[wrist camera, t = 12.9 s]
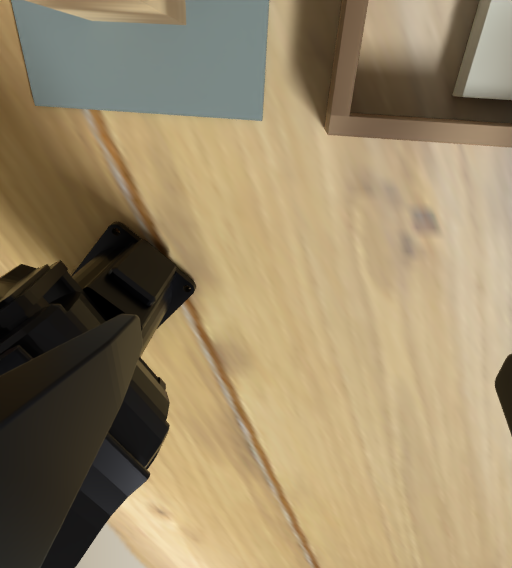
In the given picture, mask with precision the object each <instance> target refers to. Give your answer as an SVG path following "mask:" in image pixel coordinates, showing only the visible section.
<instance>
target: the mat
mask: <svg viewBox="0 0 512 568" xmlns="http://www.w3.org/2000/svg"><path fill="white" fill-rule="evenodd" d="M11 2H12V7H13V11H14V16H15V20H16V24H17V29H18V33H19V38H20V42H21V46H22V51H23V55H24V59H25V64H26V68H27V73H28V77H29V81H30V86H31V90H32V95H33V99H34V103H35V106H49V107H64V108H79V109H94V110H108V111H123V112H138V113H153V114H168V115H183V116H198V117H213V118H228V119H242V120H257V121H262V118H263V101H264V83H265V65H266V47H267V29H268V12H269V0H185V3H186V25H170V24H149V23H127V22H105V21H91V20H87V19H84V18H81V17H78V16H74V15H71V14H68V13H64V12H61V11H58V10H55V9H51V8H48V7H45V6H41V5H38V4H35V3H32V2H28V1H25V0H11Z"/></svg>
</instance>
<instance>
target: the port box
mask: <svg viewBox="0 0 512 568" xmlns="http://www.w3.org/2000/svg"><path fill="white" fill-rule="evenodd" d="M367 6H368V0H342V1H341V9H340V16H339V24H338V31H337V38H336V46H335V53H334V60H333V68H332V75H331V82H330V90H329V97H328V104H327V112H326V119H325V126H324V129H325V131H326V132H327V134H328V135H338V136H353V137H367V138H382V139H396V140H411V141H425V142H440V143H454V144H469V145H483V146H498V147H512V123H498V122H483V121H468V120H452V119H437V118H421V117H406V116H391V115H375V114H360V113H350V108H351V102H352V96H353V90H354V84H355V78H356V72H357V66H358V60H359V54H360V48H361V42H362V36H363V30H364V24H365V18H366V12H367ZM452 96H458V97H472V98H489V99H505V100H512V0H480V1H479V4H478V8H477V11H476V15H475V18H474V22H473V25H472V29H471V32H470V36H469V39H468V43H467V46H466V50H465V53H464V57H463V60H462V63H461V67H460V70H459V74H458V77H457V81H456V84H455V88H454V91H453V95H452Z"/></svg>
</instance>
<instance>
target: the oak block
mask: <svg viewBox="0 0 512 568" xmlns="http://www.w3.org/2000/svg"><path fill="white" fill-rule="evenodd" d="M25 1H28V2H32V3H35V4H38V5H41V6H45V7H48V8H51V9H55V10H58V11H61V12H64V13H68V14H71V15H74V16H78V17H81V18H84V19H87V20H91V21H105V22H127V23H149V24H170V25H186V3H185V0H25Z"/></svg>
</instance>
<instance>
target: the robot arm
mask: <svg viewBox="0 0 512 568" xmlns="http://www.w3.org/2000/svg"><path fill="white" fill-rule="evenodd" d="M115 228H117V229H119V231H120V233H117V232H116V231H115ZM67 270H68V268H67V267H66V266H65V265H64V264H63V262H62V261H61V260H60V261H58V262H56V263H55V264H53V265H51V266H48V264H46V265H44V266H42V267H40V268H39V267H38V268H33V267H30V266H26V265H23V264H21V265H19V266H17V267H16V268H14V269H12V270H11V271H9V272H8V273H6V274H5V275H3V276H2V277H0V568H75V567H76V566H77V564H78V563H79V561H80V560H81V558H82V557H83V555H84V554H85V552H86V551H87V550H88V548H89V546H90V545H91V544H92V542H93V541H94V539H95V538H96V536H97V535H98V533H99V532H100V530H101V529H102V528H103V526H104V525H105V523H106V522H107V521H108V519H109V518H110V517H111V515H112V514H113V513H114V512H115V511H116V510H117V509H118V507H119V506H120V505H121V504H122V503H123V502H124V501H125V500H126V498H127V497H128V496H129V495H131V494H132V493H133V492H134V491H135V490H136V489H138V488H139V487H140V486H141V485H142V484H143V483H144V482H146V481H147V480H148V478H149V476H150V472H149V471H148V470H147V469H148V468H149V466H150V465H151V464H152V462H153V461H154V459H155V458H156V456H157V454H158V452H159V450H160V448H161V446H162V444H163V442H164V440H165V438H166V436H167V434H168V430H169V423H168V422H167V421H166V419H167V415H168V409H169V403H170V402H169V399H168V395H167V392H166V391H165V389H166V384H165V383H164V382H163V380H162V379H161V378H160V377H157V376H156V375H155V374H154V373H153V372H152V370H151V369H150V368H149V367H148V366H147V364H146V363H145V362H144V361H143V360H142V359H141V355H142V353H143V352H144V350H145V348H146V346H147V345H148V343H149V341H150V339H151V338H152V336H153V334H154V332H155V331H156V329H157V328H158V327H159V326H160V325H161V324H162V323H163V322H164V321H165V320H167V319H168V318H169V317H170V316H171V315H172V314H173V313H174V312H175V311H176V310H177V309H178V308H179V307H180V306H181V305H182V304H183V303H184V302H185V301H186V300H187V299H188V298H189V297H190V296H191V295H192V294H193V293H194V291H195V289H196V284H195V283H194V282H193V281H192V280H191V279H190V278H189V277H187V276H186V275H185V274H184V273H183V272H181V271H180V270H179V269H178V268H176V265H175V264H174V263H172V262H171V261H170V260H169V259H168V258H166V257H165V256H164V255H163V254H161V253H160V252H159V251H158V250H157V249H155V248H154V247H153V246H152V245H150V244H149V243H148V242H147V241H145V240H142V239H141V238H140V237H138V236H137V235H136V234H135V233H133V232H132V231H131V230H130V229H129V228H127V227H126V226H125V225H124V224H122V223H120V222H114V223H113V224H111V225H110V226H109V227H108V228H107V230H106V231H105V232H104V234H103V235H102V236H101V238H100V239H99V240H98V242H97V243H96V244H95V246H94V247H93V248H92V250H91V251H90V252H89V254H88V255H87V256H86V258H85V259H84V260H83V262H82V263H81V264H80V266H79V267H78V268H77V269H76V271H75V272H74V273H73V275H72V276H71V275H70V274H69V273H68V272H67ZM185 285H188V286H189V287H190V288H191V289H187V288H186V287H185ZM495 388H496V392H497V395H498V398H499V400H500V403H501V406H502V409H503V412H504V415H505V418H506V421H507V424H508V427H509V430H510V432H511V435H512V354H510V355H509V356H507V358H506V360H505V361H504V363H503V365H502V367H501V369H500V371H499V373H498V375H497V377H496V380H495Z"/></svg>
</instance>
